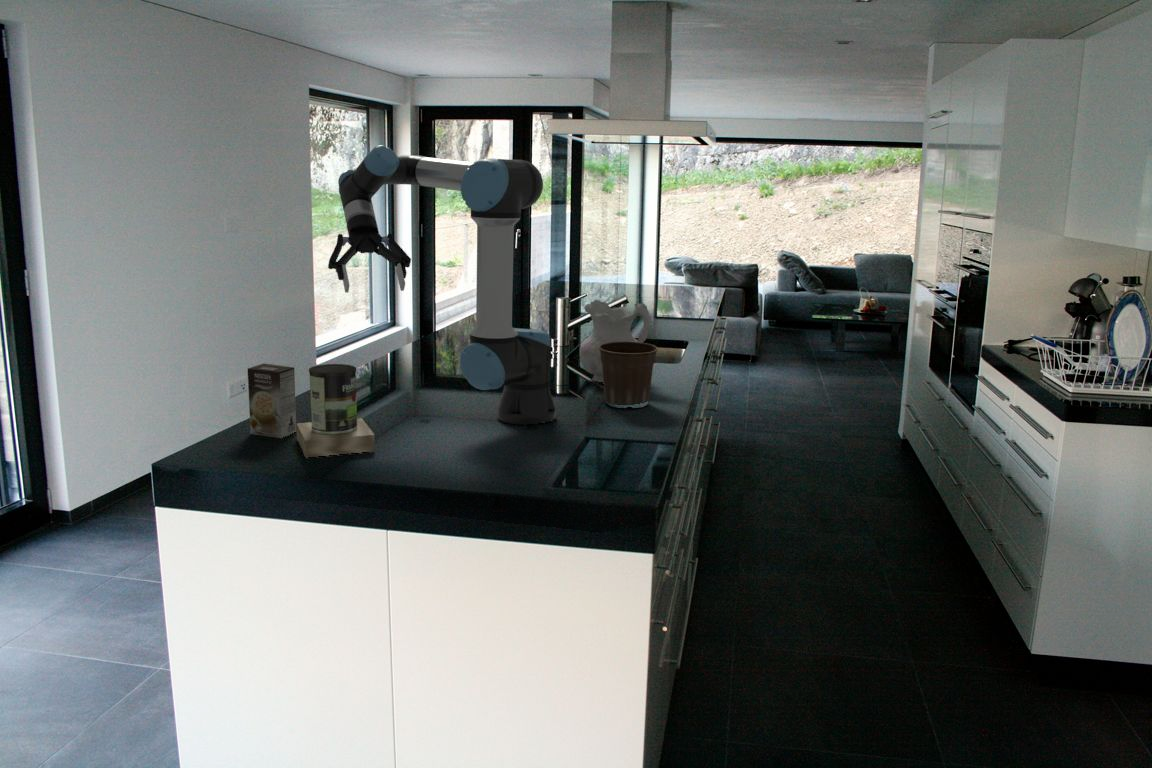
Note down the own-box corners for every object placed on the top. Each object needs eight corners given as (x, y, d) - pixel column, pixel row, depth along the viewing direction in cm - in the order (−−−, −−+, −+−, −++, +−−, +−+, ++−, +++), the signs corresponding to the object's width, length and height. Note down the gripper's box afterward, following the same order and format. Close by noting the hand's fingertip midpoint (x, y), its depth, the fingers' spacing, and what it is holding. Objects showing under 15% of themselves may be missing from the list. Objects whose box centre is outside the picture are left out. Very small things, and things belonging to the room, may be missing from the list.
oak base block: (362, 434, 226) (361, 418, 225) (374, 451, 212) (374, 434, 211) (297, 440, 220) (296, 423, 219) (305, 458, 207) (305, 440, 206)
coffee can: (365, 424, 219) (363, 365, 216) (345, 436, 210) (343, 374, 206) (323, 421, 221) (321, 362, 218) (302, 433, 212) (300, 371, 208)
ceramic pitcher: (653, 381, 295) (657, 301, 291) (644, 390, 276) (648, 304, 272) (586, 376, 300) (589, 297, 296) (571, 385, 281) (574, 301, 277)
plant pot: (639, 414, 250) (641, 355, 246) (586, 406, 258) (587, 348, 254) (665, 402, 264) (667, 345, 260) (613, 394, 272) (615, 339, 268)
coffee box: (248, 434, 224) (245, 368, 220) (266, 427, 229) (262, 363, 226) (281, 439, 221) (278, 371, 217) (298, 432, 227) (295, 366, 223)
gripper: (407, 231, 249) (423, 295, 239) (309, 232, 239) (322, 299, 229) (411, 212, 243) (428, 277, 233) (312, 212, 233) (324, 280, 223)
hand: (375, 288), depth 231 cm, fingers open, 13 cm apart
